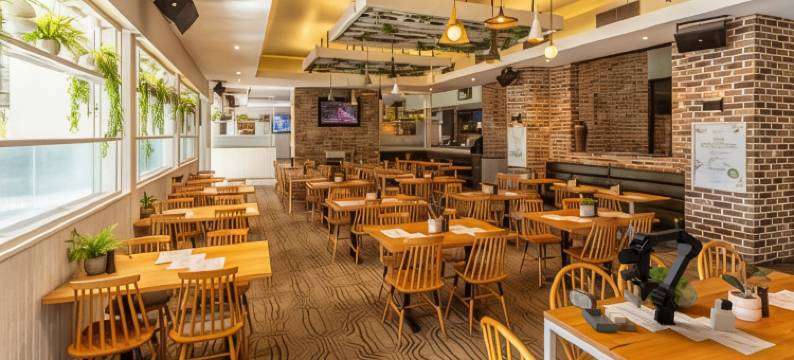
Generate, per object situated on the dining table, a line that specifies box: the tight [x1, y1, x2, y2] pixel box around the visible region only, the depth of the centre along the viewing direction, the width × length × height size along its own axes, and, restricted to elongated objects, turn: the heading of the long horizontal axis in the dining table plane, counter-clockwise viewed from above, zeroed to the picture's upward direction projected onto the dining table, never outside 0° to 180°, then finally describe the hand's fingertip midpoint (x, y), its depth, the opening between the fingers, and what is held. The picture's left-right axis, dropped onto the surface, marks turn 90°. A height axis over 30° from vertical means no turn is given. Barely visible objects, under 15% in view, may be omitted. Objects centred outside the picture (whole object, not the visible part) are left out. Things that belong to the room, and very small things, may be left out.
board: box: [602, 312, 636, 332], centre depth 206 cm, size 8×14×2 cm, turn 177°
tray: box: [581, 307, 617, 333], centre depth 206 cm, size 8×18×4 cm, turn 177°
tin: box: [569, 287, 598, 310], centre depth 225 cm, size 15×3×8 cm, turn 23°
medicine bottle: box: [709, 298, 737, 333], centre depth 202 cm, size 7×7×12 cm
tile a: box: [604, 308, 621, 318], centre depth 208 cm, size 4×4×2 cm
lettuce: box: [648, 266, 698, 308], centre depth 228 cm, size 19×23×18 cm
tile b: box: [610, 312, 626, 323], centre depth 203 cm, size 4×4×2 cm
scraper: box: [623, 285, 649, 309], centre depth 204 cm, size 6×13×7 cm, turn 178°
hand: (640, 299), depth 204 cm, fingers closed on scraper, 4 cm apart
